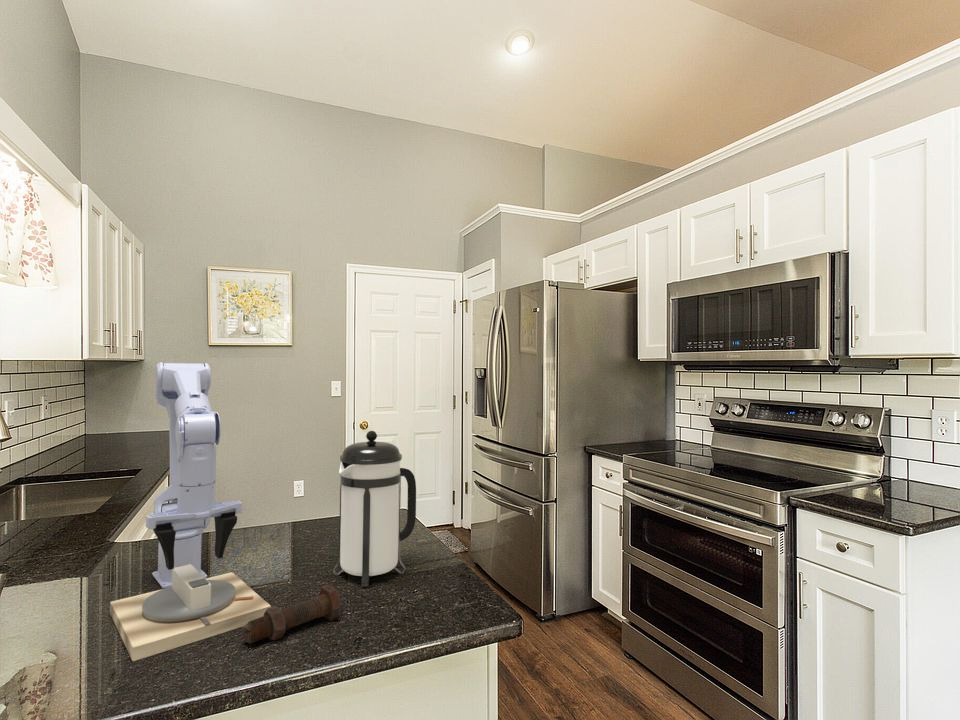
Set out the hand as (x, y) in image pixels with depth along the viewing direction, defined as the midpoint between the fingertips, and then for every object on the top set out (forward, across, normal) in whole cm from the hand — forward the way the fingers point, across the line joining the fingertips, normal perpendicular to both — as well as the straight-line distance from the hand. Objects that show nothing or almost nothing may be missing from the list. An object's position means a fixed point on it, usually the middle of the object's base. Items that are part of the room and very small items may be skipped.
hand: (195, 562), depth 89 cm
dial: (+7, 0, +1) cm, 7 cm away
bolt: (+10, +11, -15) cm, 21 cm away
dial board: (+9, 0, +1) cm, 9 cm away
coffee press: (+10, +34, -3) cm, 35 cm away
